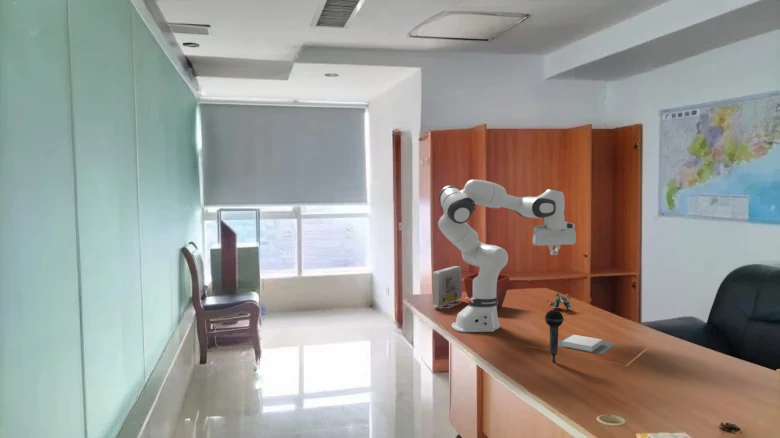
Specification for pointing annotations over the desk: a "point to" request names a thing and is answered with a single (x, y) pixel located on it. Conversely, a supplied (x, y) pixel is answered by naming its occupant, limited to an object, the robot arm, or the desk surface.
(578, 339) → the tile
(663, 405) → the desk surface
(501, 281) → the plant pot
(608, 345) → the mat
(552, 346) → the microphone
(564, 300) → the passion flower
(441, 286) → the network device
